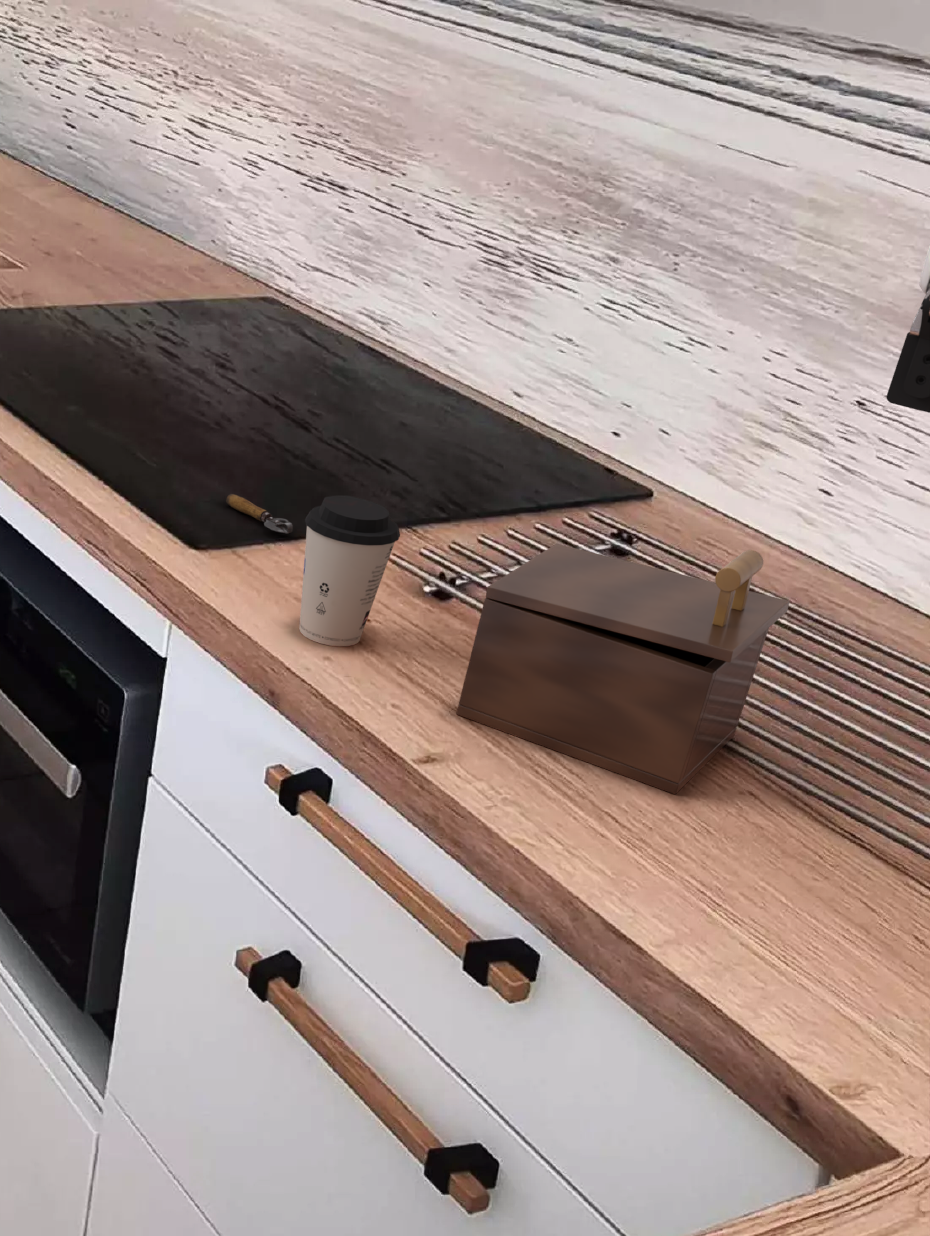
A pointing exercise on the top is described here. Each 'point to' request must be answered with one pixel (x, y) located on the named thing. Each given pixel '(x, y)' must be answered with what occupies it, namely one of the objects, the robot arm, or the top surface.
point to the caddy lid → (646, 599)
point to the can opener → (259, 514)
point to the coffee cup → (343, 567)
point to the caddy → (604, 694)
